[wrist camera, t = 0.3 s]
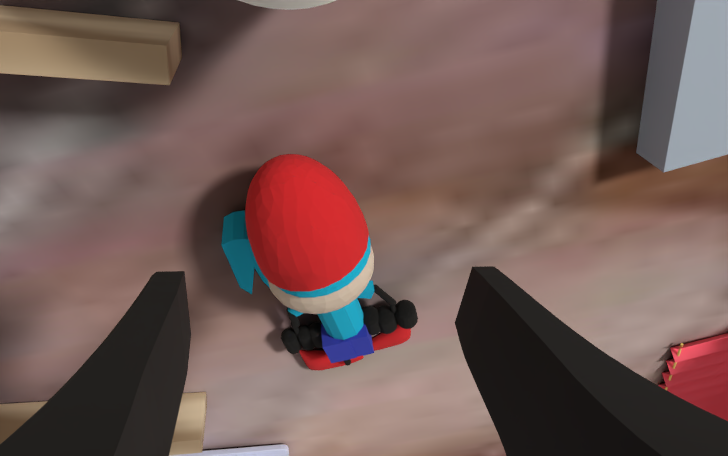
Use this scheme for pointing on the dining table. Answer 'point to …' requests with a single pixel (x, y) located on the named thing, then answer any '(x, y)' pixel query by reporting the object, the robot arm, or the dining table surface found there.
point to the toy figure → (313, 262)
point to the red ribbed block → (700, 374)
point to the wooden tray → (95, 62)
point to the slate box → (686, 85)
